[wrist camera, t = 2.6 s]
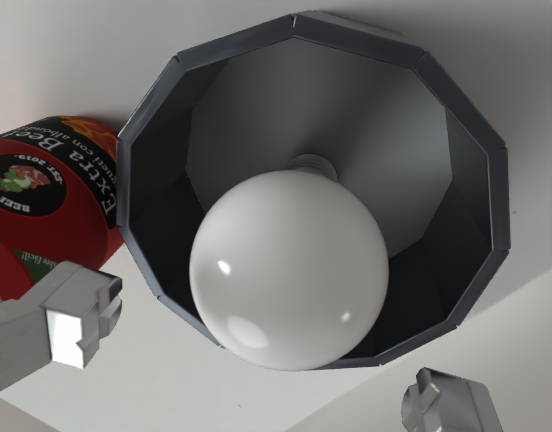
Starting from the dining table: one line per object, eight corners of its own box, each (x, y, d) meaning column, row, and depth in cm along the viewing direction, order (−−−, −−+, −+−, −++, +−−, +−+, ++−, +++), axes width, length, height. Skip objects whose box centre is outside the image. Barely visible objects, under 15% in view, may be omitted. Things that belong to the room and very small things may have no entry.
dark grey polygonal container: (527, 66, 15) (616, 99, 10) (394, 313, 23) (406, 404, 17) (192, -23, 16) (116, -35, 11) (167, 245, 23) (114, 315, 18)
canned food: (179, 173, 21) (31, 319, 11) (117, 258, 24) (-31, 420, 15) (54, 77, 19) (-237, 150, 10) (10, 183, 23) (-231, 310, 13)
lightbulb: (304, 82, 17) (245, 180, 8) (404, 171, 18) (457, 352, 9) (226, 177, 20) (114, 331, 11) (316, 248, 21) (286, 444, 12)
